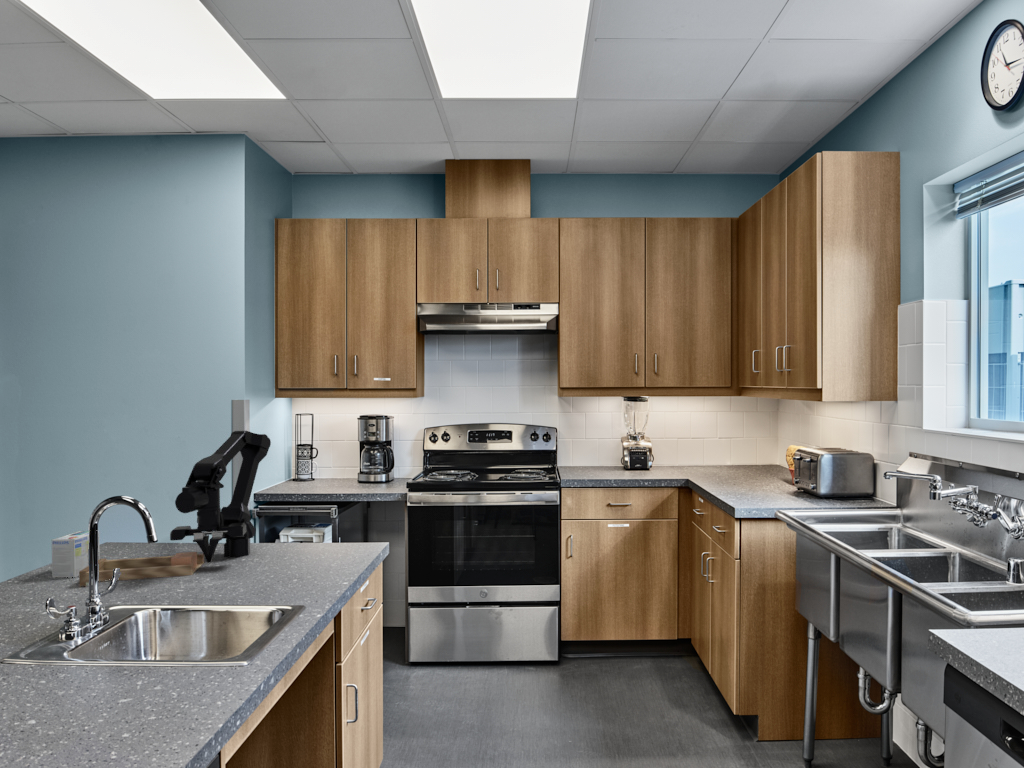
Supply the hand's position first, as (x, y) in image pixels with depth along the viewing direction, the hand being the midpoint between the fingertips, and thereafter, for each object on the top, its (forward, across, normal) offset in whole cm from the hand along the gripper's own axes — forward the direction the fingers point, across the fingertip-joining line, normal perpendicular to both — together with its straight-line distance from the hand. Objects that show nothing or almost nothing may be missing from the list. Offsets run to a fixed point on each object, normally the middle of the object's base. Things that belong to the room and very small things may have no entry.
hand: (209, 562), depth 180 cm
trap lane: (+2, +17, 0) cm, 17 cm away
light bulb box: (+3, +37, -9) cm, 38 cm away
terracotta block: (+2, +7, 0) cm, 7 cm away
